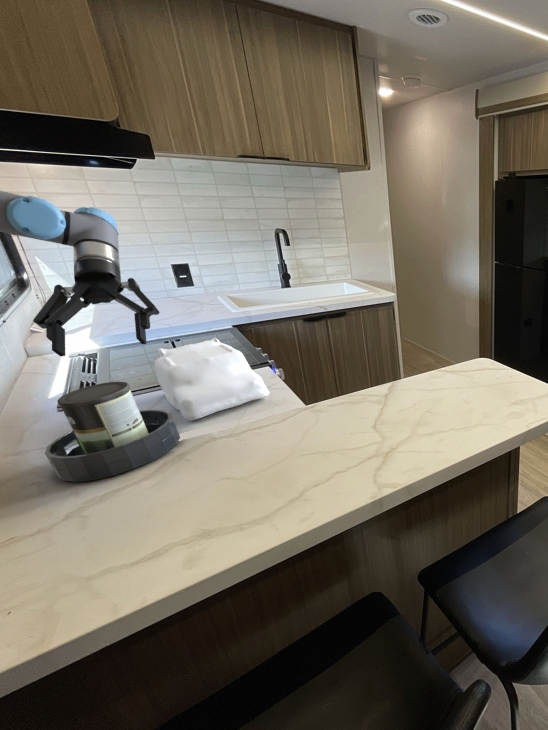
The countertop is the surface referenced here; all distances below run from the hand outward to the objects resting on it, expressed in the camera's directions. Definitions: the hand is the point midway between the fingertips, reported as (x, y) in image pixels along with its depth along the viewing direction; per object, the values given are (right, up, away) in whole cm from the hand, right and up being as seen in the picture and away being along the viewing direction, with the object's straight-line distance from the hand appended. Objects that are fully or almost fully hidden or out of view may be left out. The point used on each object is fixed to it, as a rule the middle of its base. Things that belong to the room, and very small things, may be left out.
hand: (101, 347), depth 85 cm
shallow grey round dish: (+6, -23, -1) cm, 23 cm away
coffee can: (+6, -22, -1) cm, 23 cm away
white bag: (+7, -12, +25) cm, 29 cm away
